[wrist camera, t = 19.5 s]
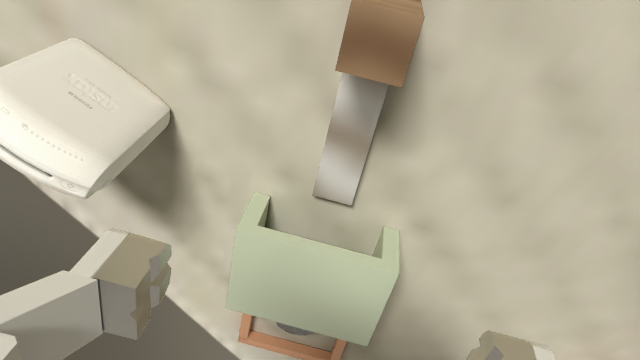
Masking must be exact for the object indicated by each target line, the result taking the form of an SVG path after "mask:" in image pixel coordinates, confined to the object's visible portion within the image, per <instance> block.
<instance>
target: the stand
mask: <svg viewBox="0 0 640 360" xmlns="http://www.w3.org/2000/svg"><path fill="white" fill-rule="evenodd" d="M269 201H270V196H268V195H264V194H261V193H257V192H255V193H254V195H253V197H252V199H251V201H250V203H249V205H248V207H247V209H246V211H245V212H244V214H243V216H242V218H241V220H240V222H239V224H238V226H237V228H236V232H235V239H234V247H233V254H232V261H231V269H230V276H229V284H228V291H227V298H226V306H225V308H227V309H230V310H234V311H238V312H241V313H245V314H249V315H253V316H256V317H260V318H264V319H267V320H271V321H275V322H278V323H282V324H286V325H289V326H293V327H297V328H300V329H304V330H308V331H311V332H315V333H319V334H322V335H326V336H330V337H333V338H337V339H341V340H344V341H348V342H352V343H355V344H359V345H363V346H366V347H367V346H368V343H369V341H370V339H371V337H372V334H373V332H374V330H375V328H376V325H377V323H378V321H379V318H380V316H381V314H382V312H383V309H384V307H385V305H386V303H387V300H388V298H389V296H390V293H391V291H392V289H393V287H394V284H395V282H396V280H397V278H398V275H399V230H395V229H391V228H388V227H383V230H382V233H381V235H380V238H379V240H378V243H377V246H376V248H375V251H374V254H373V256H369V255H365V254H362V253H358V252H354V251H351V250H347V249H343V248H339V247H336V246H332V245H328V244H324V243H321V242H317V241H313V240H310V239H306V238H302V237H298V236H295V235H291V234H287V233H284V232H280V231H276V230H272V229H269V228H265V223H266V217H267V212H268V206H269Z"/></svg>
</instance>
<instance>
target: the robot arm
mask: <svg viewBox="0 0 640 360" xmlns="http://www.w3.org/2000/svg"><path fill="white" fill-rule="evenodd" d="M170 257H171V245H169V244H166V243H163V242H160V241H156V240H153V239H150V238H146V237H143V236H140V235H136V234H133V233H128V232H125V231H122V230H118V229H115V228H112V229H110V230H108V231H106V232H105V233H104V234H103V236H102V237H101V238H100V239H99V240H98V241H97V242H96V243H95V244H94V245H93V247H92V248H91V249H90V250H89V251H88V252H87V253H86V254H85V255H84V256H83V257H82V258H81V260H80V261H79V262H78V263H77V264H76V265H75V266H74V267H73V268H72V269H71V270H70V272H68V271H61V272H58V273H56V274H53V275H51V276H48V277H46V278H43V279H41V280H38V281H36V282H33V283H31V284H28V285H26V286H23V287H21V288H18V289H16V290H13V291H11V292H8V293H6V294H3V295H1V296H0V360H62V359H64V358H65V357H67V356H68V355H70V354H71V353H73V352H74V351H76V350H78V349H79V348H81V347H82V346H84V345H86V344H87V343H89V342H90V341H92V340H93V339H95V338H96V337H98V336H99V335H101V334H102V333H103V332H107V333H112V334H116V335H119V336H124V337H128V338H132V339H136V340H137V339H138V338H139V336H140V334H141V333H142V331H143V329H144V328H145V326H146V325H147V323H148V321H149V320H150V318H151V308H152V307H154V306H156V305H158V304H159V303H160V301H161V300H162V298H163V296H164V295H165V292H166V290H167V287H168V285H169V281H170V276H171V267H170V266H169V265H168V263H167V262H168V260H169V259H170ZM479 341H480V347H478V348H476V349H473V350H472V351H471V353H470V354H469V356H468V358H467V360H555V357H554V355H553V352H552V350H551V349H550V348H549V346H545V345H542V344H538V343H534V342H530V341H526V340H523V339H519V338H515V337H511V336H508V335H504V334H500V333H496V332H492V331H486V332H484V333H483V334H482V336H481V337H480V339H479Z"/></svg>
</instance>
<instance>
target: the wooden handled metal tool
mask: <svg viewBox="0 0 640 360" xmlns="http://www.w3.org/2000/svg"><path fill="white" fill-rule="evenodd" d="M424 18H425V17H424V12H423V8H422V3H421V0H352V1H351V5H350V9H349V14H348V18H347V22H346V26H345V31H344V35H343V39H342V44H341V48H340V52H339V56H338V61H337V65H336V69H335V70H336V71H339V72H342V76H341V80H340V84H339V88H338V93H337V97H336V101H335V105H334V109H333V113H332V117H331V121H330V125H329V129H328V134H327V138H326V142H325V146H324V150H323V154H322V158H321V162H320V166H319V170H318V175H317V179H316V183H315V187H314V191H313V196H317V197H321V198H325V199H328V200H332V201H336V202H340V203H344V204H347V205H352V202H353V199H354V196H355V193H356V189H357V186H358V183H359V180H360V176H361V173H362V170H363V167H364V164H365V160H366V157H367V154H368V151H369V147H370V144H371V141H372V138H373V135H374V131H375V128H376V125H377V122H378V118H379V115H380V112H381V109H382V106H383V102H384V99H385V96H386V93H387V89H388V86H389V84H390V85H394V86H397V87H401V88H402V85H403V82H404V79H405V76H406V73H407V70H408V67H409V64H410V61H411V58H412V55H413V52H414V49H415V46H416V43H417V40H418V37H419V33H420V30H421V27H422V24H423V21H424Z"/></svg>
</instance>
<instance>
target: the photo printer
mask: <svg viewBox="0 0 640 360" xmlns="http://www.w3.org/2000/svg"><path fill="white" fill-rule="evenodd" d="M169 111H170V109H169V107H168V106H167V105H166V104H165V103H164V102H163V101H162V100H161V99H160V98H158V97H157V96H156V95H155V94H154V93H152V92H151V91H150V90H149V89H147V88H146V87H145V86H144V85H142V84H141V83H140V82H138V81H137V80H136V79H134V78H133V77H132V76H130V75H129V74H128V73H126V72H125V71H124V70H123V69H121V68H120V67H119V66H117V65H116V64H114V63H113V62H112V61H110V60H109V59H107V58H106V57H105V56H103V55H102V54H101V53H99V52H98V51H96V50H95V49H94V48H92V47H91V46H89V45H88V44H86V43H84V42H83V41H81V40H79V39H76V38H71V39H68V40H65V41H63V42H60V43H58V44H55V45H53V46H50V47H48V48H46V49H43V50H41V51H39V52H36V53H34V54H31V55H29V56H27V57H24V58H22V59H20V60H17V61H15V62H12V63H10V64H7V65H5V66H3V67H0V159H1V160H2V161H4V162H5V163H7V164H8V165H10V166H11V167H13V168H15V169H16V170H18V171H19V172H21V173H23V174H24V175H26V176H28V177H30V178H31V179H33V180H35V181H37V182H39V183H41V184H43V185H45V186H48V187H50V188H52V189H54V190H57V191H59V192H62V193H65V194H67V195H71V196H74V197H78V198H81V199H87V198H89V197H90V196H91V195H92V194H94V193H95V192H96V191H98V190H100V189H102V188H104V187H105V186H106V185H108V184H109V183H110V182H111V181H112V180H113V179H114V178H115V177H116V176H117V175H118V174H120V173H121V172H122V171H123V170H124V169H125V168H126V167H127V166H128V165H129V164H130V163H131V162H132V161H133V160H134V159H135V158H136V157H137V156H138V155H139V154H140V153H141V152H142V151H143V150H144V149H145V148H146V147H147V146H148V145H149V144H150V143H151V142H152V141H153V140H154V139H155V138H156V137H157V136H158V135H159V134H160V133H161V132H162V131H163V130H164V129H165V128H166V127H167V126H168V124H169V121H170V112H169Z"/></svg>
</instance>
